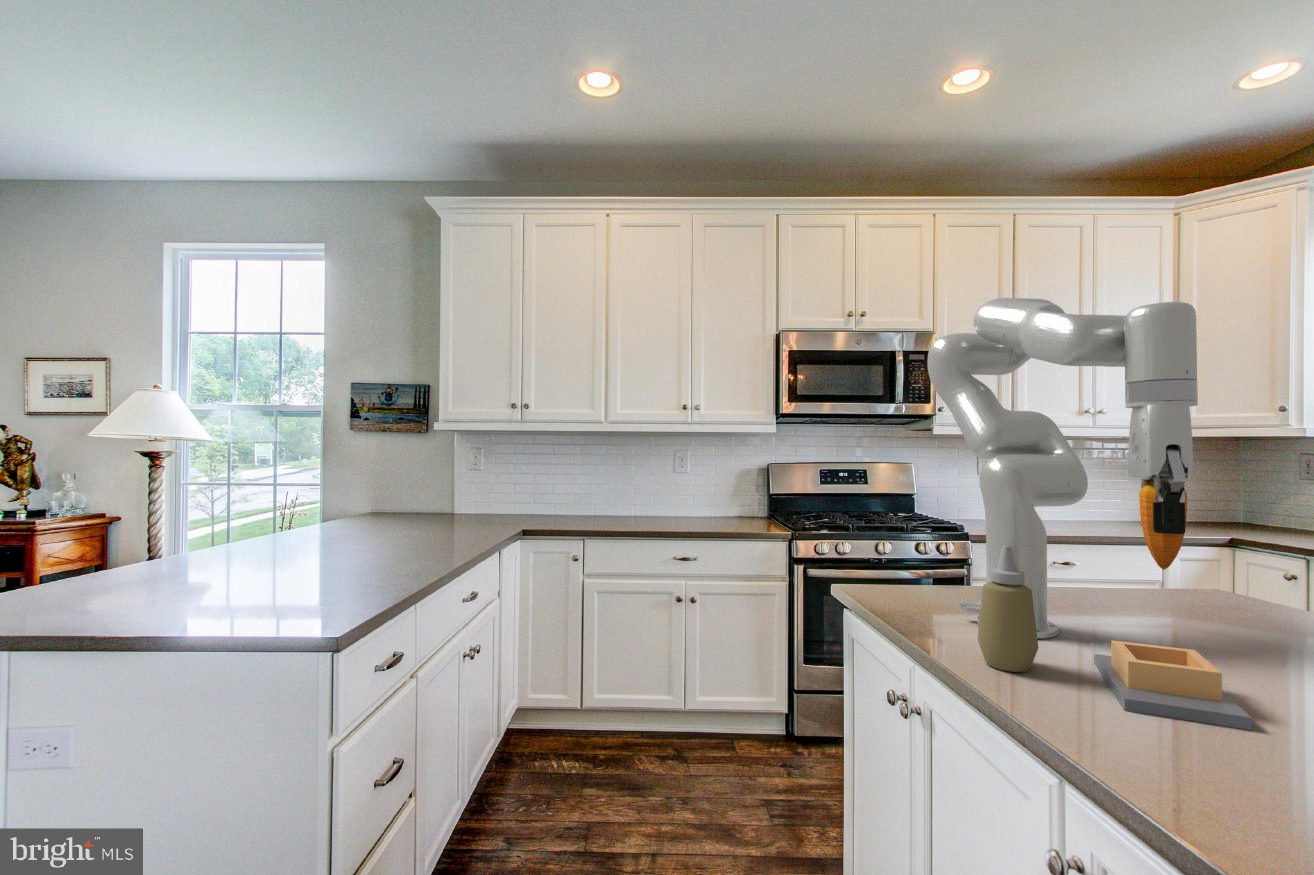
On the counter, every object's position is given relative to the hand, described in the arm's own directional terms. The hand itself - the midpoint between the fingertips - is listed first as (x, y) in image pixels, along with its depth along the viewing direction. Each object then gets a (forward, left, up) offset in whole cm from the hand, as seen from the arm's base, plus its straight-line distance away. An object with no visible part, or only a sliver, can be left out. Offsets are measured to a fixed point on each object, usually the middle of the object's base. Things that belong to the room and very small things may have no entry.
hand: (1162, 529), depth 81 cm
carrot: (0, 0, -6) cm, 6 cm away
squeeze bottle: (-18, +2, -22) cm, 29 cm away
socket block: (0, 0, -22) cm, 22 cm away
